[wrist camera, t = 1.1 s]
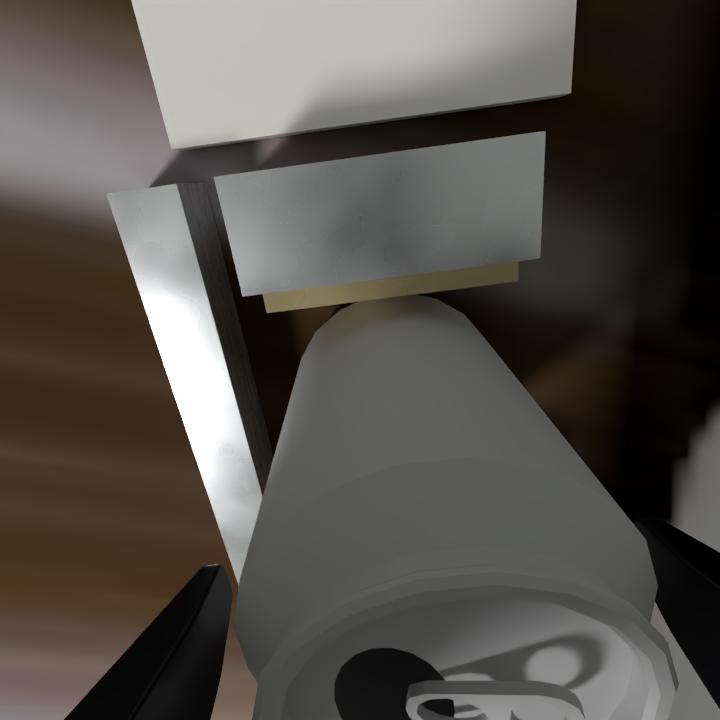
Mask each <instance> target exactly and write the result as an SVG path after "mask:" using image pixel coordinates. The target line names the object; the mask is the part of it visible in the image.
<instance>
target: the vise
mask: <svg viewBox="0 0 720 720" xmlns="http://www.w3.org/2000/svg"><path fill="white" fill-rule="evenodd" d="M545 136H546V131H541V132H534V133H527V134H520V135H513V136H505V137H498V138H491V139H484V140H476V141H469V142H462V143H455V144H448V145H440V146H433V147H426V148H419V149H411V150H404V151H397V152H390V153H383V154H375V155H368V156H361V157H354V158H346V159H339V160H332V161H325V162H318V163H310V164H303V165H296V166H289V167H282V168H274V169H267V170H260V171H253V172H245V173H238V174H231V175H224V176H217V177H214V181H215V185H216V189H217V193H218V197H219V201H220V205H221V210H222V214H223V218H224V222H225V226H226V230H227V234H228V239H229V243H230V247H231V251H232V255H233V259H234V263H235V268H236V272H237V276H238V280H239V284H240V288H241V293H242V297H243V296H251V295H259V294H263V299H264V303H265V308H266V312H267V313H272V312H280V311H288V310H296V309H304V308H312V307H320V306H327V305H335V304H343V303H351V302H359V301H367V300H375V299H383V298H391V297H399V296H407V295H415V294H422V293H430V292H438V291H446V290H454V289H462V288H470V287H478V286H486V285H494V284H502V283H509V282H517V281H518V265H519V261H524V260H532V259H540V255H541V232H542V208H543V184H544V160H545ZM106 195H107V198H108V201H109V204H110V207H111V209H112V212H113V215H114V218H115V221H116V224H117V227H118V230H119V233H120V236H121V239H122V242H123V245H124V248H125V251H126V254H127V257H128V260H129V263H130V266H131V269H132V272H133V275H134V277H135V280H136V283H137V286H138V289H139V292H140V295H141V298H142V301H143V304H144V307H145V310H146V313H147V316H148V319H149V322H150V325H151V328H152V331H153V334H154V337H155V340H156V343H157V345H158V348H159V351H160V354H161V357H162V360H163V363H164V366H165V369H166V372H167V375H168V378H169V381H170V384H171V387H172V390H173V393H174V396H175V399H176V402H177V405H178V408H179V411H180V413H181V416H182V419H183V422H184V425H185V428H186V431H187V434H188V437H189V440H190V443H191V446H192V449H193V452H194V455H195V458H196V461H197V464H198V467H199V470H200V473H201V476H202V479H203V481H204V484H205V487H206V490H207V493H208V496H209V499H210V502H211V505H212V508H213V511H214V514H215V517H216V520H217V523H218V526H219V529H220V532H221V535H222V538H223V541H224V544H225V547H226V549H227V552H228V555H229V558H230V561H231V564H232V567H233V570H234V573H235V576H236V579H237V582H238V585H239V580H240V577H241V573H242V570H243V566H244V563H245V559H246V555H247V552H248V548H249V545H250V541H251V537H252V534H253V530H254V527H255V523H256V519H257V516H258V512H259V509H260V505H261V501H262V498H263V494H264V491H265V487H266V484H267V480H268V476H269V473H270V469H271V466H272V462H273V458H274V456H273V452H272V448H271V444H270V440H269V436H268V432H267V428H266V424H265V420H264V416H263V412H262V408H261V404H260V400H259V396H258V392H257V388H256V384H255V380H254V376H253V372H252V368H251V364H250V360H249V356H248V352H247V348H246V344H245V340H244V336H243V332H242V328H241V324H240V320H239V316H238V312H237V308H236V304H235V300H234V296H233V292H232V288H231V284H230V280H229V276H228V272H227V268H226V264H225V260H224V256H223V252H222V248H221V244H220V240H219V236H218V232H217V228H216V224H215V220H214V216H213V212H212V208H211V204H210V200H209V196H208V192H207V188H206V184H205V182H200V183H183V184H172V185H165V186H158V187H150V188H143V189H136V190H129V191H121V192H114V193H107V194H106Z"/></svg>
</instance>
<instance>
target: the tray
mask: <svg viewBox="0 0 720 720" xmlns="http://www.w3.org/2000/svg"><path fill="white" fill-rule="evenodd" d="M131 1H132V4H133V8H134V12H135V15H136V19H137V23H138V27H139V30H140V34H141V38H142V41H143V45H144V49H145V52H146V56H147V60H148V63H149V67H150V71H151V75H152V78H153V82H154V86H155V89H156V93H157V97H158V100H159V104H160V108H161V111H162V115H163V119H164V123H165V126H166V130H167V134H168V137H169V141H170V145H171V148H172V150H179V151H184V150H191V149H198V148H205V147H212V146H219V145H226V144H233V143H240V142H247V141H254V140H261V139H269V138H276V137H283V136H290V135H297V134H304V133H311V132H318V131H325V130H332V129H339V128H347V127H354V126H361V125H368V124H375V123H382V122H389V121H396V120H403V119H410V118H417V117H424V116H432V115H439V114H446V113H453V112H460V111H467V110H474V109H481V108H488V107H495V106H502V105H510V104H517V103H524V102H531V101H538V100H545V99H552V98H559V97H562V96H565V95H567V94H570V93H571V86H572V69H573V53H574V37H575V20H576V4H577V0H131Z"/></svg>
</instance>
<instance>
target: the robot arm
mask: <svg viewBox="0 0 720 720" xmlns="http://www.w3.org/2000/svg"><path fill="white" fill-rule="evenodd" d="M634 525H635V527H636V528H637V529H638V530H639V532H640V533H641V534H642V535H643V537H644V538H645V539H646V541H647V545H648V549H649V553H650V557H651V561H652V564H653V568H654V572H655V576H656V580H657V584H658V589H657V593H656V598H655V602H656V604H657V606H658V608H659V610H660V612H661V614H662V616H663V618H664V619H665V622H666V623H667V625H668V627H669V629H670V631H671V633H672V634H673V636H674V637H675V639H676V641H677V642H678V644H679V646H680V647H681V649H682V651H683V652H684V654H685V655H686V657H687V658H688V660H689V661H690V663H691V664H692V666H693V668H694V669H695V671H696V672H697V674H698V676H699V677H700V679H701V680H702V682H703V684H704V685H705V687H706V688H707V690H708V691H709V693H710V695H711V696H712V698H713V699H714V701H715V703H716V704H717V705H718V707H719V709H720V553H719V552H717V551H716V550H714V549H712V548H711V547H709V546H707V545H705V544H704V543H702V542H700V541H698V540H696V539H694V538H693V537H691V536H689V535H688V534H686V533H684V532H682V531H681V530H679V529H677V528H675V527H673V526H672V525H670V524H668V523H666V522H665V521H663V520H661V519H659V518H645V519H638V520H637V521H636V522H635V524H634ZM231 605H232V589H231V586H230V583H229V580H228V577H227V574H226V571H225V569H224V567H223V565H221V564H214V565H206V566H203V567H202V568H201V569H200V570H199V571H198V572H197V573H196V574H195V575H194V576H193V577H192V578H191V580H190V581H189V582H188V583H187V584H186V585H185V586H184V587H183V588H182V590H181V591H180V592H179V593H178V594H177V595H176V596H175V597H174V598H173V600H172V601H171V602H170V603H169V604H168V605H167V606H166V607H165V608H164V609H163V611H162V612H161V613H160V614H159V615H158V616H157V617H156V618H155V619H154V621H153V622H152V623H151V624H150V625H149V626H148V627H147V628H146V629H145V631H144V632H143V633H142V634H141V635H140V636H139V637H138V638H137V639H136V640H135V642H134V643H133V644H132V645H131V646H130V647H129V648H128V649H127V650H126V652H125V653H124V654H123V655H122V656H121V657H120V658H119V659H118V660H117V662H116V663H115V664H114V665H113V666H112V667H111V668H110V669H109V670H108V671H107V673H106V674H105V675H104V676H103V677H102V678H101V679H100V680H99V681H98V683H97V684H96V685H95V686H94V687H93V688H92V689H91V690H90V691H89V693H88V694H87V695H86V696H85V697H84V698H83V699H82V700H81V701H80V702H79V704H78V705H77V706H76V707H75V708H74V709H73V710H72V711H71V712H70V714H69V715H68V716H67V717H66V718H65V719H64V720H210V719H211V715H212V711H213V707H214V703H215V699H216V695H217V691H218V686H219V682H220V677H221V671H222V665H223V659H224V652H225V645H226V639H227V632H228V625H229V618H230V611H231Z"/></svg>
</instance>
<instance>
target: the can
mask: <svg viewBox="0 0 720 720" xmlns="http://www.w3.org/2000/svg"><path fill="white" fill-rule="evenodd" d="M657 589H658V584H657V580H656V576H655V572H654V568H653V564H652V561H651V557H650V553H649V549H648V545H647V541H646V539H645V538H644V537H643V535H642V534H641V533H640V532H639V530H638V529H637V528H636V527H635V525H634V524H633V523H632V522H631V520H630V519H629V518H628V517H627V515H626V514H625V513H624V512H623V510H622V509H621V508H620V507H619V505H618V504H617V503H616V502H615V500H614V499H613V498H612V497H611V495H610V494H609V493H608V492H607V490H606V489H605V488H604V487H603V485H602V484H601V483H600V482H599V480H598V479H597V478H596V477H595V475H594V474H593V473H592V472H591V470H590V469H589V468H588V467H587V465H586V464H585V463H584V462H583V460H582V459H581V458H580V457H579V455H578V454H577V453H576V452H575V450H574V449H573V448H572V447H571V445H570V444H569V443H568V442H567V440H566V439H565V438H564V437H563V435H562V434H561V433H560V432H559V430H558V429H557V428H556V427H555V425H554V424H553V423H552V422H551V420H550V419H549V418H548V417H547V415H546V414H545V413H544V412H543V410H542V409H541V408H540V407H539V405H538V404H537V403H536V402H535V400H534V399H533V398H532V397H531V395H530V394H529V393H528V392H527V390H526V389H525V388H524V387H523V385H522V384H521V383H520V382H519V380H518V379H517V378H516V377H515V375H514V374H513V373H512V372H511V370H510V369H509V368H508V367H507V365H506V364H505V363H504V362H503V360H502V359H501V358H500V357H499V355H498V354H497V353H496V352H495V350H494V349H493V348H492V347H491V345H490V344H489V343H488V342H487V340H486V339H485V338H484V337H483V336H482V334H481V333H480V332H479V331H478V330H477V329H476V328H475V326H474V325H473V324H472V323H471V322H470V321H469V319H468V318H467V317H466V316H465V315H464V314H463V313H461V312H459V311H457V310H456V309H454V308H452V307H450V306H449V305H447V304H445V303H443V302H441V301H440V300H438V299H436V298H431V297H425V296H420V295H407V296H399V297H391V298H383V299H375V300H367V301H359V302H356V303H354V304H352V305H350V306H348V307H345V308H343V309H341V310H339V311H338V312H337V313H336V314H335V315H334V316H333V317H331V318H330V319H329V320H328V321H327V322H326V323H325V324H324V325H323V326H322V327H321V328H319V329H318V330H317V331H316V332H315V334H314V336H313V338H312V340H311V342H310V343H309V345H308V347H307V349H306V351H305V352H304V354H303V356H302V358H301V361H300V365H299V369H298V372H297V376H296V379H295V383H294V387H293V390H292V394H291V397H290V401H289V404H288V408H287V412H286V415H285V419H284V422H283V426H282V430H281V433H280V437H279V440H278V444H277V448H276V451H275V455H274V458H273V462H272V466H271V469H270V473H269V476H268V480H267V484H266V487H265V491H264V494H263V498H262V501H261V505H260V509H259V512H258V516H257V519H256V523H255V527H254V530H253V534H252V537H251V541H250V545H249V548H248V552H247V555H246V559H245V563H244V566H243V570H242V573H241V577H240V580H239V589H238V597H237V605H236V614H235V622H234V629H235V631H236V634H237V637H238V640H239V643H240V645H241V648H242V651H243V654H244V657H245V660H246V662H247V665H248V668H249V670H250V671H251V673H252V674H253V676H254V677H255V679H256V680H257V682H258V688H257V694H256V700H255V706H254V712H253V718H252V720H668V719H669V716H670V712H671V709H672V705H673V702H674V698H675V695H676V691H677V688H678V684H679V683H678V679H677V676H676V672H675V668H674V665H673V661H672V657H671V653H670V649H669V646H668V643H667V641H666V640H665V638H664V637H663V636H662V635H661V634H660V633H659V632H658V631H657V630H656V629H655V628H654V627H653V626H652V625H651V624H650V620H651V616H652V610H653V607H654V602H655V598H656V593H657Z"/></svg>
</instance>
